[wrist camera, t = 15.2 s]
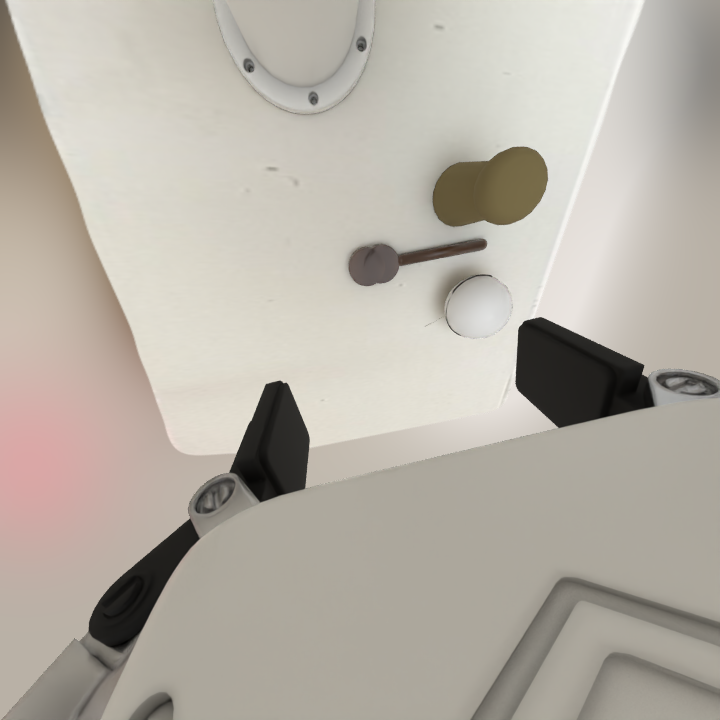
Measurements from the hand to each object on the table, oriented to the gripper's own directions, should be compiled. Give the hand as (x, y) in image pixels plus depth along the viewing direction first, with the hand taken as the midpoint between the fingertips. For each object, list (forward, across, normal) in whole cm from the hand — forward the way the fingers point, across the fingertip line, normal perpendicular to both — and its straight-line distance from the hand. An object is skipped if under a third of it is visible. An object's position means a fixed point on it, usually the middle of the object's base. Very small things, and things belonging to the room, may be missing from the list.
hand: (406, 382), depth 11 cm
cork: (+24, -13, -5) cm, 28 cm away
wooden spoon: (+24, -7, 0) cm, 25 cm away
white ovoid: (+25, -11, +6) cm, 28 cm away
